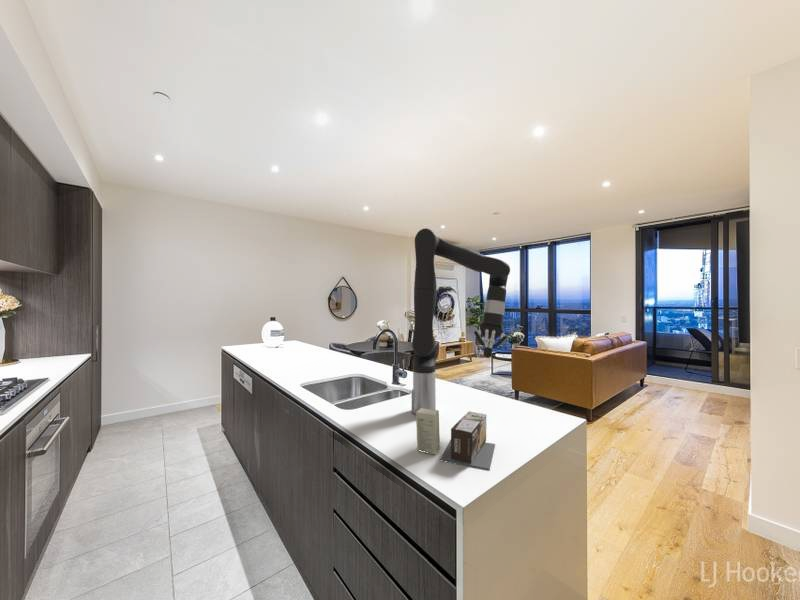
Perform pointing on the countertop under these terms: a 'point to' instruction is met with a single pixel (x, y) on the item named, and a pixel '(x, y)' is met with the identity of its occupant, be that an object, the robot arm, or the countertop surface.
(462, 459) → the coffee box
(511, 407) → the countertop surface
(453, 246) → the robot arm
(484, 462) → the mat
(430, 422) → the skincare box
